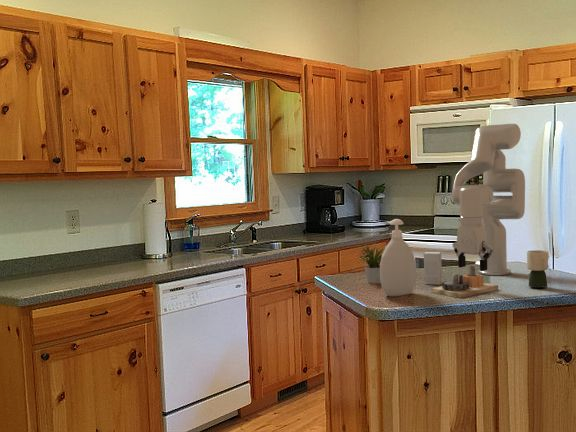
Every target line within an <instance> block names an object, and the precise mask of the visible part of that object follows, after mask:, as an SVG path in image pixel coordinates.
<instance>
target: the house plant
mask: <svg viewBox="0 0 576 432" xmlns="http://www.w3.org/2000/svg"><path fill="white" fill-rule="evenodd" d="M356 246H358V247H357V248H361V249H362V250H361V249H359V251H360V252H362V253H363V255H364V256H361V257H360V259H361V260H362V261H363V263H365V264H367V265H365V266H364V269H365V275H366V280H367V283H369V284H381V282H380V264H381V257H382V255H383V253H382V252H384V250H385V248H386V246H384V247H383V248H381V249H379V246H378V243H377V245H375V244H373V247H372V249H370V248H369V245H368V244H365V246H364V247H363V246H359V245H358V244H356Z"/></svg>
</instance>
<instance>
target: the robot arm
mask: <svg viewBox="0 0 576 432" xmlns="http://www.w3.org/2000/svg"><path fill="white" fill-rule="evenodd" d="M521 134H522V132H521V128H520V126H519V125H518V124H516V123H502V124H489V125H482V126H479V127H478V128H476V130H475V132H474V137H473V143H472V148H471V149H472V150H471V155H470V160H469V162H467V163H466V164H464V166H463V167H461V169H460V170H459V171H458V172H457V174H456V175H455V178H454V180H453V185H452V191H451V199H452V202H453V204H454V205H457V206H459V216H460V217H459V218H458V221H459V223H460V224H459V225H458V227H457V231H456V232H457V234H456V241H455V242H453V243H452V247H453V248H452V249H453V250H454V253H455V255H456V257H457V258H458V260H457V261H458V263H457V265H458V268H459V269H461V268H465V267H466V266H467V265H466V263H467V262H466V261H467V260H466V259H467V258H466V255H465V254H469V255H478V257H479V260H477V261H476V262H475V266H476V267H479V269H478V270H477V271H478V272H477V274H480V275H483V276H484V275H485V276H506V275H510V274H511V273H512V272H511V271H512V270H511V269H509V268H508V264H507V262H508V258H507V255H508V254H507V229H506V227H505V226H504V224H503V223H502V222H501V221H500V220H520V219H522V218H523V217H524V216H525V209H526V205H525V204H526V179H525V178H526V177H525V173H524V172H523V170H522V169H520V168H506V161H507V160H506V155H505V154H504V152H503V150H511V149H513V148H515V147H516V146H517V145H518V144H519V142H520V140H521ZM481 174H482V175H483V176H482V178H483V179H482V182H483V183H482V184H466V183H467V182H468V181H469V180H471V179H472V178H475V177H477V176H479V175H481ZM494 193H511V195H494Z"/></svg>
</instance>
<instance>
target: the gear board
mask: <svg viewBox="0 0 576 432" xmlns="http://www.w3.org/2000/svg"><path fill="white" fill-rule="evenodd" d="M468 270H469V273H468V274H469V276H475V274H476V267H475V266H474V265H470V266H469V268H468ZM430 290H431V291H430V292H431V294H438V295H443V296H448V297H453V298H459V299H462V298H467V297H470V296H475V295H479V294H484V293H489V292H493V291H498V290H499V284H493V283H492V284H491V283H486V282H483V285H482V286H481V287H469V283H468V282H463V274H458V273H452V280H450V281H448V280H447V281H446V280H445V281H444V282H443V281H442V283H441V285H438V286H436V287H431V288H430Z"/></svg>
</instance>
